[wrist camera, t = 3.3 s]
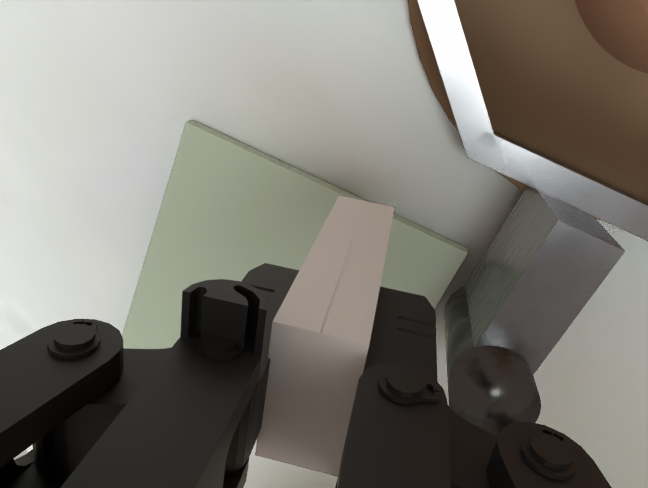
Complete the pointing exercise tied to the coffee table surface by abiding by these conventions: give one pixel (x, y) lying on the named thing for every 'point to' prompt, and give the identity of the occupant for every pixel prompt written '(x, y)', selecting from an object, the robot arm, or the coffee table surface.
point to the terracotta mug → (619, 28)
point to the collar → (520, 252)
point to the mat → (254, 232)
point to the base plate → (551, 87)
